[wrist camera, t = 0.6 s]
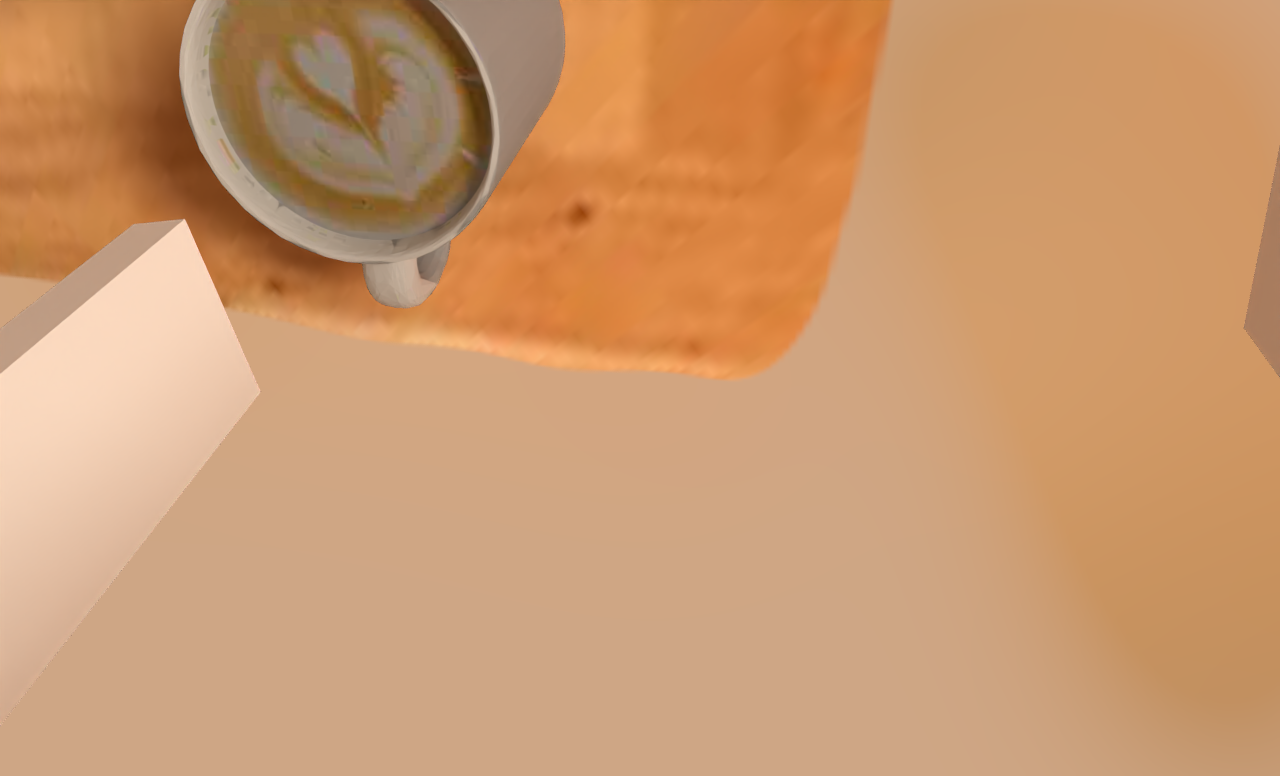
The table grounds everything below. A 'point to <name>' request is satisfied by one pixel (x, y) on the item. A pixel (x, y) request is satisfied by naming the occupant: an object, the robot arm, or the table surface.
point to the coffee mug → (368, 119)
